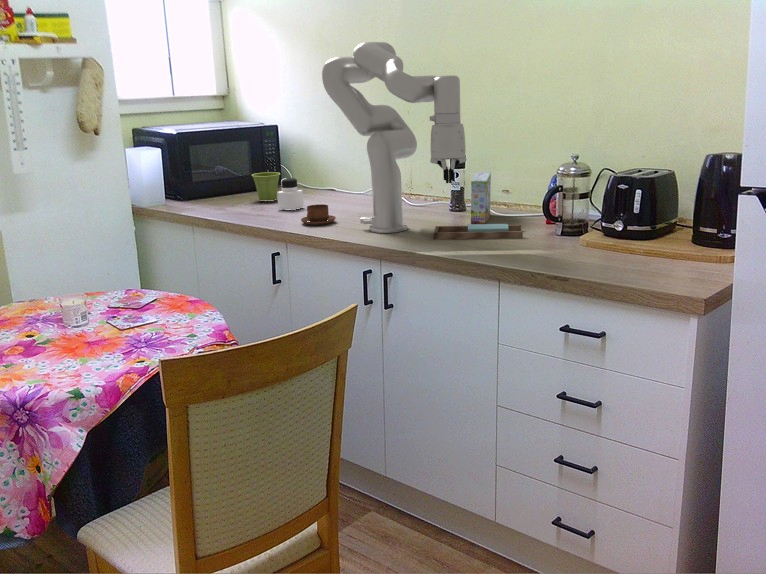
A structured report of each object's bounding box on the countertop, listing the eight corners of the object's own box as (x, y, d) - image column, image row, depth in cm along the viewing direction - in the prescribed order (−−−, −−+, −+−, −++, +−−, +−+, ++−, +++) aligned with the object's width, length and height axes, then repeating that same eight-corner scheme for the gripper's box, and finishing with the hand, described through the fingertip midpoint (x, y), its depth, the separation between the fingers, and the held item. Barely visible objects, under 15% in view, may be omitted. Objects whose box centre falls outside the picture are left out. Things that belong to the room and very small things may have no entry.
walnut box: (434, 242, 222) (433, 233, 221) (436, 235, 232) (435, 226, 231) (522, 241, 218) (522, 231, 218) (520, 233, 228) (520, 224, 227)
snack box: (487, 227, 240) (487, 180, 236) (470, 227, 241) (469, 180, 237) (491, 214, 260) (491, 171, 256) (475, 214, 261) (475, 171, 257)
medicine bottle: (304, 208, 290) (301, 177, 286) (292, 211, 284) (290, 180, 281) (289, 207, 293) (287, 176, 290) (278, 210, 288) (275, 179, 284)
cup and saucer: (330, 227, 252) (329, 209, 250) (296, 227, 255) (295, 209, 253) (339, 220, 263) (338, 203, 262) (307, 220, 266) (306, 203, 264)
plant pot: (250, 203, 306) (247, 176, 303) (259, 198, 317) (256, 172, 314) (277, 203, 304) (275, 175, 301) (286, 198, 315) (283, 171, 312)
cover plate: (467, 237, 222) (467, 229, 221) (468, 232, 228) (468, 224, 228) (508, 236, 220) (508, 228, 220) (507, 231, 227) (507, 223, 226)
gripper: (420, 121, 214) (422, 185, 219) (473, 119, 212) (474, 183, 217) (422, 119, 221) (424, 181, 226) (473, 117, 219) (474, 180, 224)
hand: (448, 182), depth 221 cm, fingers closed
